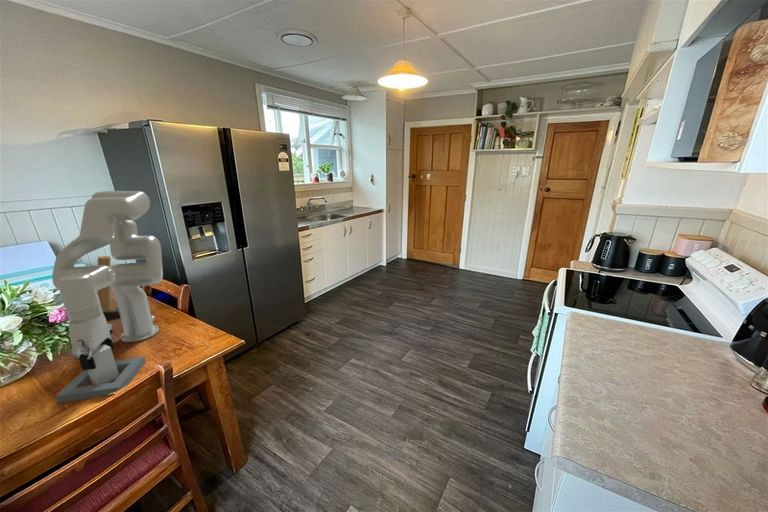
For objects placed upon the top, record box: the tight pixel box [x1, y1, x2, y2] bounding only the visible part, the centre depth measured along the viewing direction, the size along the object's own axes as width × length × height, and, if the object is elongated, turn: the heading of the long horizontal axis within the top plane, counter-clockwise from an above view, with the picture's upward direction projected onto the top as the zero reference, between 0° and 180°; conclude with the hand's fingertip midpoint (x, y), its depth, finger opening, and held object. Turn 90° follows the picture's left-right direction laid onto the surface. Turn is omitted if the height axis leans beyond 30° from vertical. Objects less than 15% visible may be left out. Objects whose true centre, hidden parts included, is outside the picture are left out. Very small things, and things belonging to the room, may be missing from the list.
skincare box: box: [83, 344, 120, 385], centre depth 96 cm, size 6×4×12 cm
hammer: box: [97, 255, 120, 321], centre depth 134 cm, size 20×5×30 cm, turn 124°
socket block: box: [55, 356, 146, 404], centre depth 97 cm, size 16×16×2 cm
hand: (99, 359), depth 95 cm, fingers open, 9 cm apart
